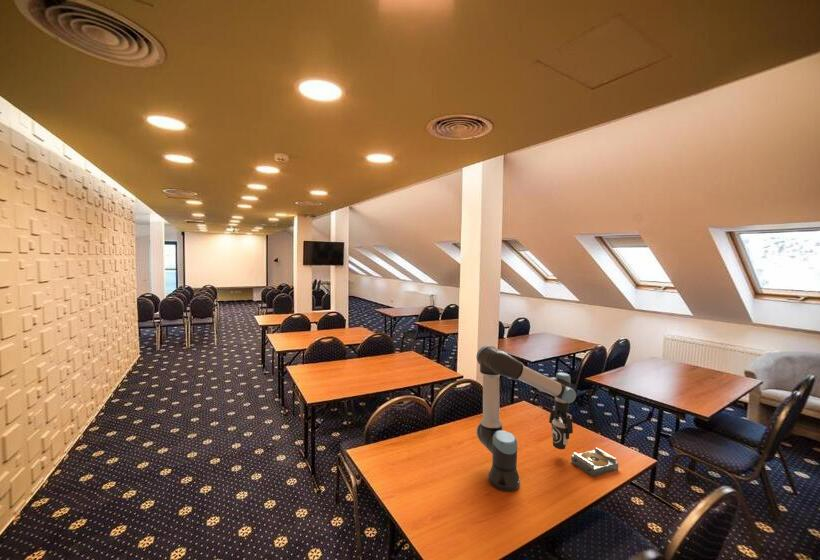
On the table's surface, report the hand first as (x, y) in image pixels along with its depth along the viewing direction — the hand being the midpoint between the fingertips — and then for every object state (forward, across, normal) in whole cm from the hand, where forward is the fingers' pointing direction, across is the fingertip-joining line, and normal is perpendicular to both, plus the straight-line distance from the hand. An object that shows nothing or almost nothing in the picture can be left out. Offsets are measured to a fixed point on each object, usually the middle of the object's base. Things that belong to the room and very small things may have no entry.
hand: (559, 440), depth 195 cm
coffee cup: (+4, 0, 0) cm, 4 cm away
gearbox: (+9, -14, -11) cm, 20 cm away
